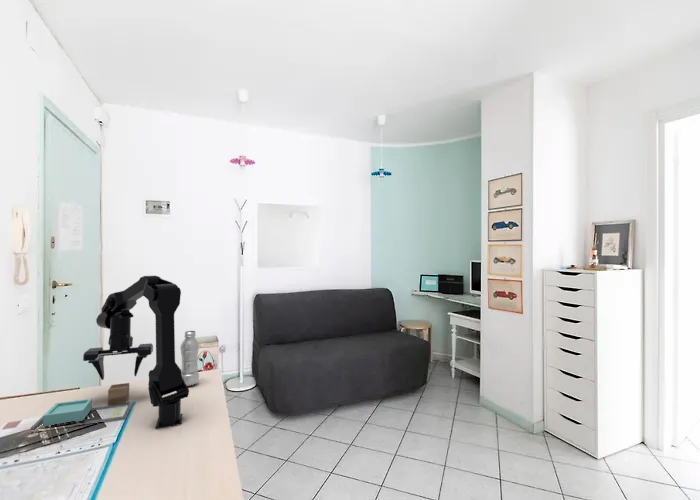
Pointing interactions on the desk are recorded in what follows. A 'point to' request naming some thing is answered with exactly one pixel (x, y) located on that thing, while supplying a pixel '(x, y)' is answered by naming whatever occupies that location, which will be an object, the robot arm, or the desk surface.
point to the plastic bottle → (189, 358)
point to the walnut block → (118, 393)
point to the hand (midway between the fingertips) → (119, 377)
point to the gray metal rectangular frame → (97, 409)
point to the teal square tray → (67, 412)
